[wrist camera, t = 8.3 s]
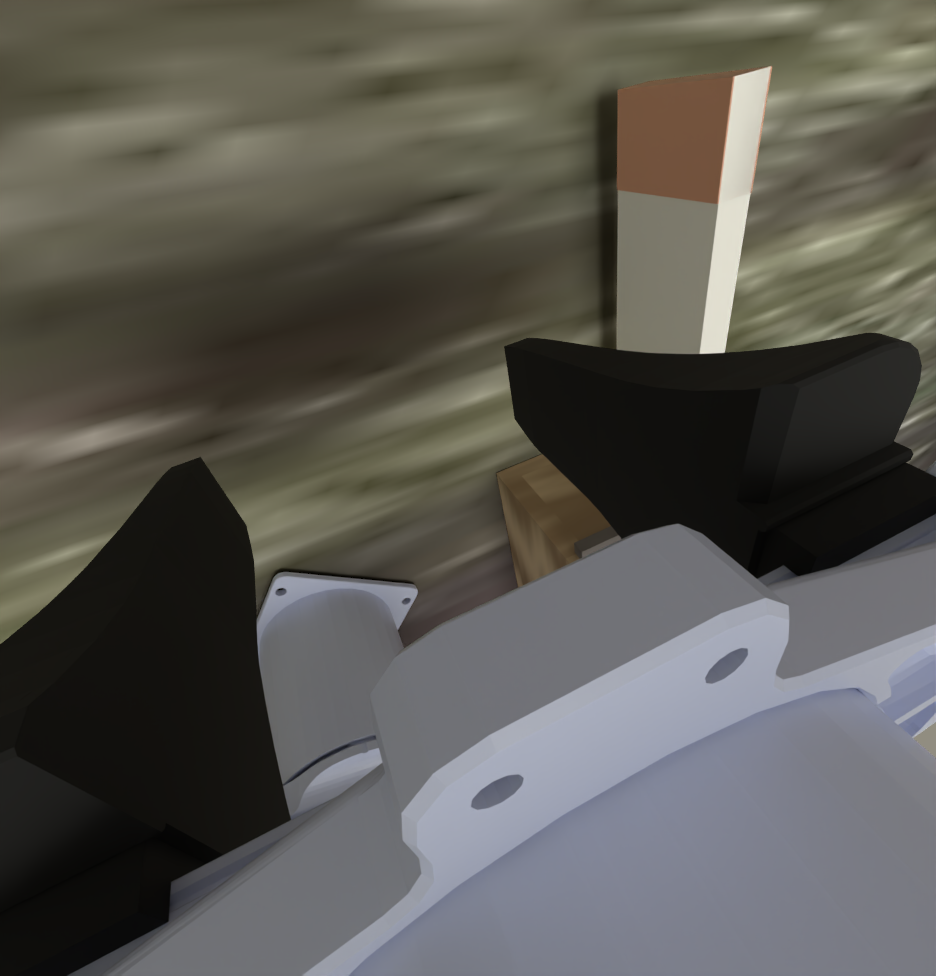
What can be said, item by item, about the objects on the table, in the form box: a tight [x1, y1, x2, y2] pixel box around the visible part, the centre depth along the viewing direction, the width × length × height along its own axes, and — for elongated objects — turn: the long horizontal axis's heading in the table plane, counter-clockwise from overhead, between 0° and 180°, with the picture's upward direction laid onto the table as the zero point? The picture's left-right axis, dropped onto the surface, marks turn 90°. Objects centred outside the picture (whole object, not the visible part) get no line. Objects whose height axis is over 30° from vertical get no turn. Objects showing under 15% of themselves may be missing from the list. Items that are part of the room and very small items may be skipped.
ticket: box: [617, 66, 772, 354], centre depth 21 cm, size 19×1×5 cm, turn 11°
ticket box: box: [496, 454, 621, 588], centre depth 29 cm, size 15×14×8 cm
